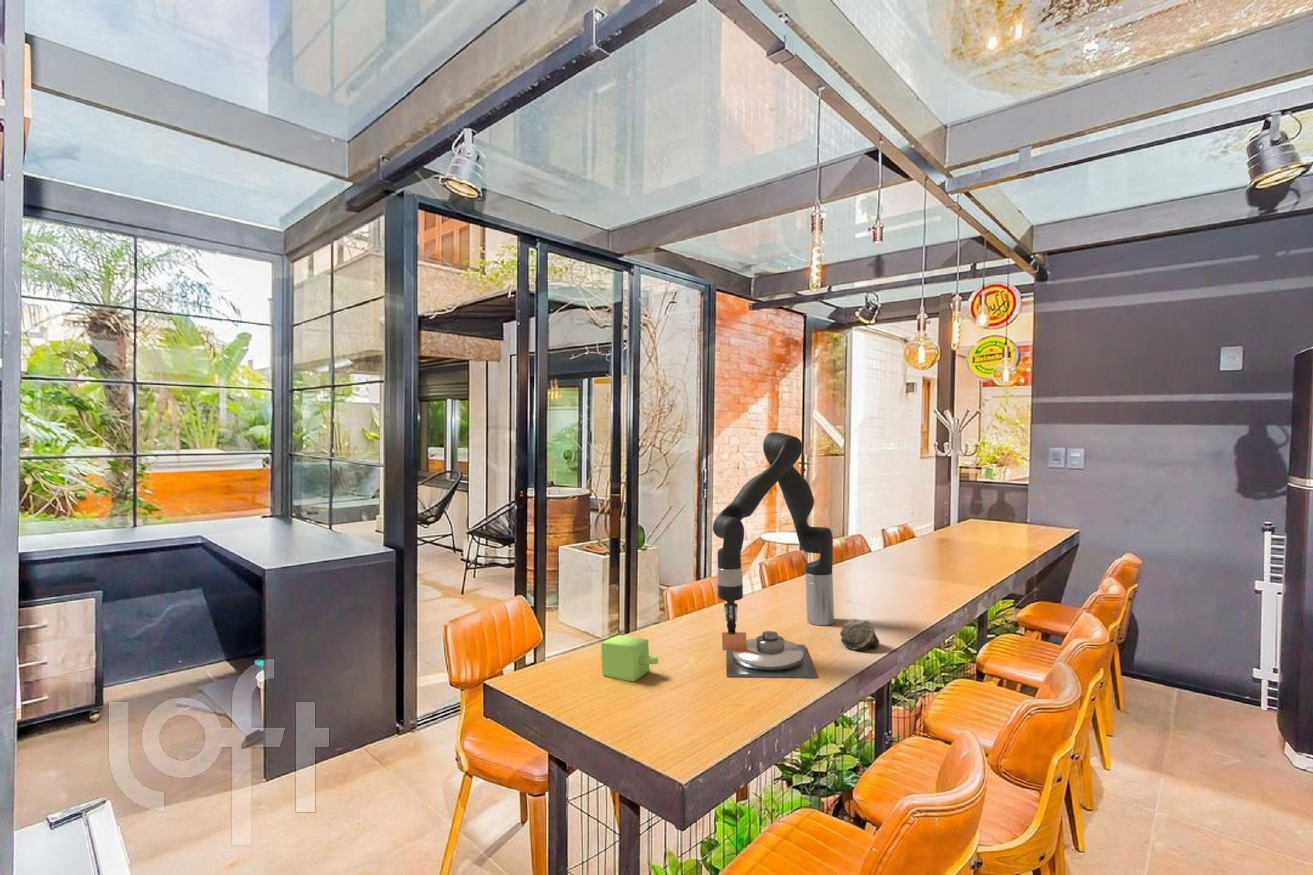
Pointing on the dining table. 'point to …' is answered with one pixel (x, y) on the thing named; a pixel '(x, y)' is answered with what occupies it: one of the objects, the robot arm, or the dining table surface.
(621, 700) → the dining table surface
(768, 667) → the turntable
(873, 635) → the fossil
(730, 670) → the turntable base
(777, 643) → the cover
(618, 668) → the gearbox
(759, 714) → the dining table surface
